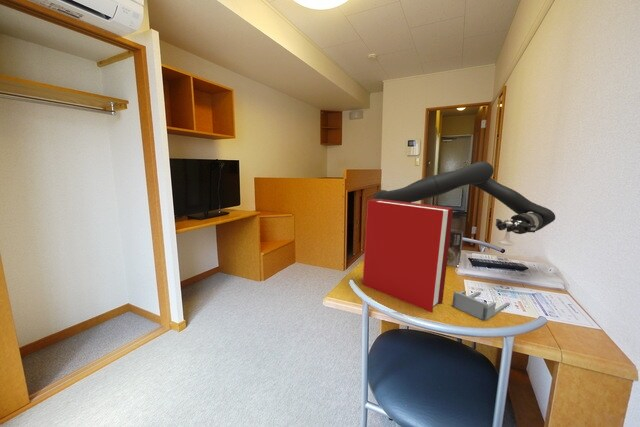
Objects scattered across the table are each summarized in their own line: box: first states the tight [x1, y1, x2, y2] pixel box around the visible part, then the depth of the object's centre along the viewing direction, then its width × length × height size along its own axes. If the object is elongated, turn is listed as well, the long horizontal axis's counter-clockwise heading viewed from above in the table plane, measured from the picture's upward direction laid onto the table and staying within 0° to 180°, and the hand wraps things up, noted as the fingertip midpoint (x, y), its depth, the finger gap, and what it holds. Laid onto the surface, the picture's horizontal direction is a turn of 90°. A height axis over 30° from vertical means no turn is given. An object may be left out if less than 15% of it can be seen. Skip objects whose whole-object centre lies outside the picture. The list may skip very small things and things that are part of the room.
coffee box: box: [447, 228, 464, 268], centre depth 126 cm, size 9×6×16 cm
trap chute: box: [451, 290, 511, 322], centre depth 88 cm, size 10×17×5 cm, turn 124°
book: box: [362, 198, 454, 313], centre depth 93 cm, size 27×8×32 cm, turn 45°
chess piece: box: [497, 216, 515, 247], centre depth 98 cm, size 5×5×10 cm
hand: (504, 228), depth 96 cm, fingers closed on chess piece
